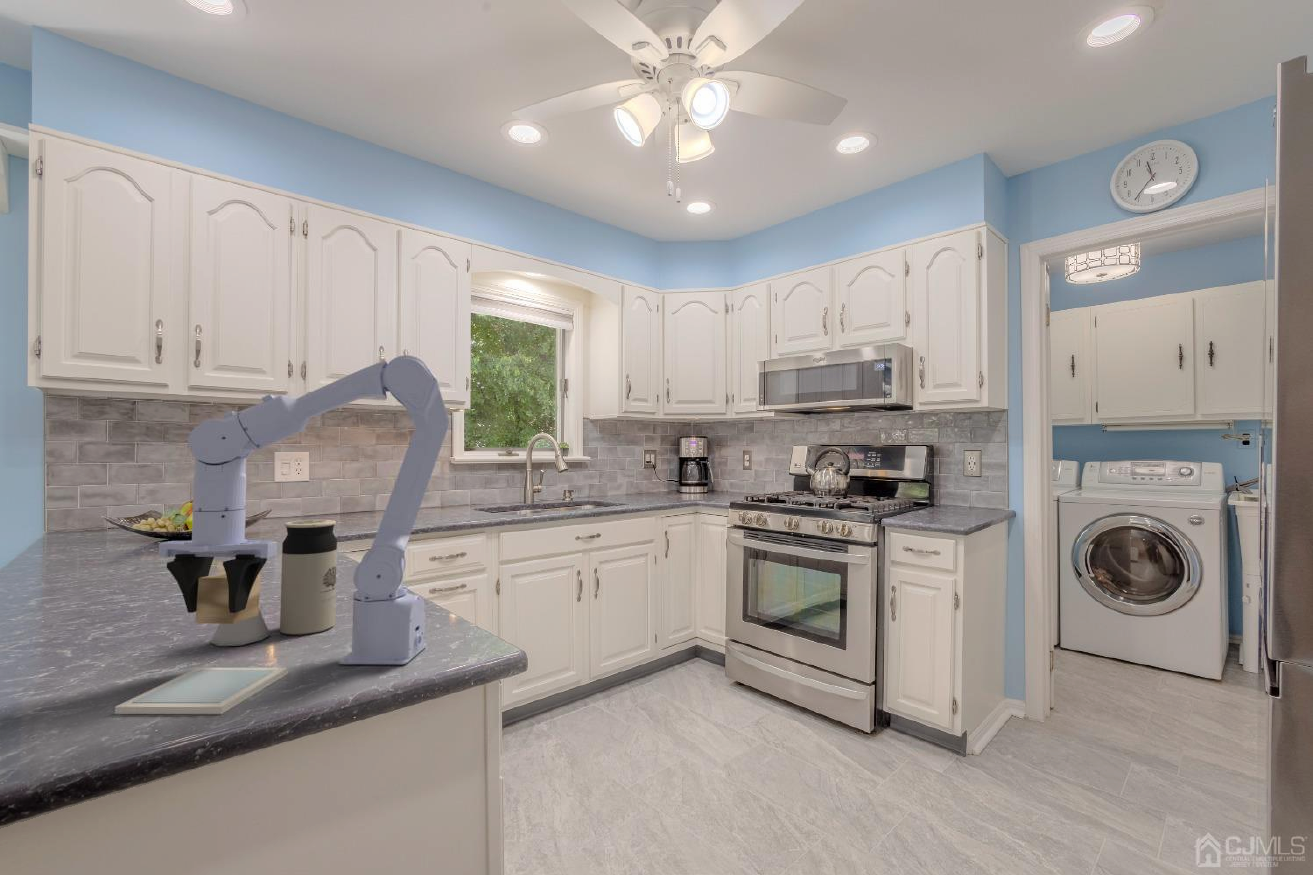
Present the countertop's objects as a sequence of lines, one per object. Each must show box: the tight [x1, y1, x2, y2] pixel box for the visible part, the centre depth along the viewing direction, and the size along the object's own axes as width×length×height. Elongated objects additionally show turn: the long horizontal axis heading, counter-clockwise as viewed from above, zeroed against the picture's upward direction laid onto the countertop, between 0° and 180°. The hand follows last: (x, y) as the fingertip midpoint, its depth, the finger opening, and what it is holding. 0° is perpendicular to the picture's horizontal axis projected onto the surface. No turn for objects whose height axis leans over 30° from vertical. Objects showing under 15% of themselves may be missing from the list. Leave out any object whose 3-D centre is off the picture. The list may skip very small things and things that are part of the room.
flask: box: [210, 609, 271, 647], centre depth 91 cm, size 7×7×10 cm
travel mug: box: [279, 519, 338, 636], centre depth 97 cm, size 8×8×18 cm
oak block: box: [194, 571, 262, 625], centre depth 80 cm, size 5×5×6 cm
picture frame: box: [114, 667, 289, 715], centre depth 71 cm, size 12×12×1 cm
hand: (216, 610), depth 77 cm, fingers closed on oak block, 5 cm apart
